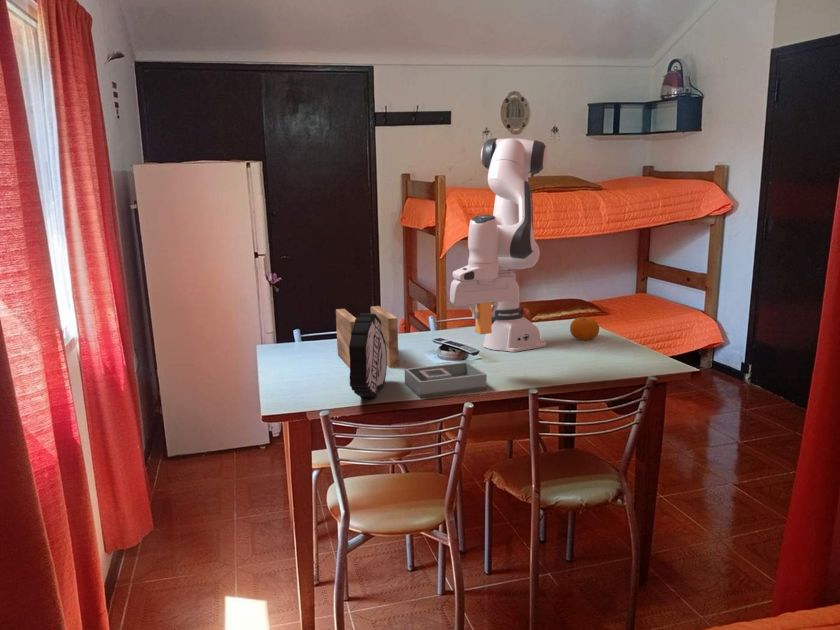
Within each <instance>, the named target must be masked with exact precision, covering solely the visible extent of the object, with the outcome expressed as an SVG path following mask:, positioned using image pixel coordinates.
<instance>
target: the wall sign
mask: <svg viewBox="0 0 840 630" xmlns="http://www.w3.org/2000/svg"><path fill="white" fill-rule="evenodd" d="M355 318H356V319H355V323H354V325H353V328H352V333H351V339H350V344H349V355H350V368H349V386H350V387H351V391H353V393H354V394H355V395H357V396H358V397H359V398H363V399H377V395H378V391H379V390H380V389H382V388H383V387H384V386H385V382H386V377H387V375H386V374H387V367H388V366H387V349H386V343H385V340H384V337H383V334H382V331H381V321H380V319H379V318H378V317H377V316H376V314H371V313H365V312H364V313H359V316H356V317H355Z"/></svg>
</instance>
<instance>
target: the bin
mask: <svg viewBox="0 0 840 630" xmlns="http://www.w3.org/2000/svg"><path fill="white" fill-rule="evenodd" d="M439 368H443V369H444V370H446V371H447V372H448V373H450V374H451V375H452V378H445V379H437V380H428V381H421V380H420V379H419V371H422V370H430V369H439ZM403 369H404V385H405V386H406V387H408V388H409V389H410V390H411V391H412V392H413V393H414V394H415V395H416V396H417V397H418V398H419V399H425V398H429V397H431V398H432V397H440V396H446V395H455V394H462V393H471V392H477V391H486V390H487V378H488V377H487V373H485V372H483V371H482V370H481V369H480V368H477V367H476V366H474V365H473V364H471V363H469V362H468V361H465V362H457V363H456V362H455V363H446V364H445V363H444V364H436V365H429V366H422V367H421V366H419V367H411V368H403Z"/></svg>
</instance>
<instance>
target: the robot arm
mask: <svg viewBox="0 0 840 630" xmlns="http://www.w3.org/2000/svg"><path fill="white" fill-rule="evenodd" d="M480 159H481V164H482V166H483V167H484V168H485V169H487V170H488V172H487V184H488V187H489V189H490V190H491V191H492V192H493V193H494V194H495V197H494V205H493V211H492V215H491V214H480V215H479V214H478V215H474V216H473V217H472V218H470V220H469V224H468V225H469V226H468V235H467V248H468V251H469V252H468V253H469V254H468V255H469V256H468V261H467V263H468V264H467V265H465V266H462V267H460V268H458V269H455V270H454V271H452V277H453V280H452V281H451V283H450V289H449V302H450V303H451V304H452V305H454V306H455V307H458V306H459V307H460V306H468V308H469V310H470V311H471V313H472V316H471V317H472V319H473V320H475V319H479V313H478V312H476V311H475V308H476V304H480V303H490V302H491V313H492V333H489V334H485V336H484V340H483V344H482V345H483V347H484V348H486V349H488V350H493V351H505V352H511V353H517V352H522V351H527V350H532V349H539V348H544V347H547V342H546V340H544V339H542V338H541V334H540V330H539V328H538V327H537V326H536V324H534V323H532V322H531V321H530V320H529V319H527V318H526V317H525V316H524V315H529V313H530V309H528V308H526V307H524V308H523V307H521V305H520V286H519V283H518V281H516V279H517V276H516V272H515V271H514V270H523V269H525V270H526V269H530V268H533V267H534V266H535V265H536V264H537V263H538V262H539V259H540V255H541V253H540V247H539V245H538V243H537V242H536V238H535V234H534V233H535V232H534V213H533V211H534V208H533V207H534V206H533V204H534V203H533V194H532V188H531V185H530V182H529V174H530V178H534V176H535V175H537V174H539V173H541V172H542V171H543V170H544V167H545V166H546V164H547V160H548V149H547V146H546V145H545V143H544V142H543V141H539V140H530V139H526V138H518V137H517V138H512V137H509V138H508V137H507V138H497V137H493V138H489V139H487V140H486V141H485V142H483V145H482V147H481V152H480ZM512 269H513V270H512Z"/></svg>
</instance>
